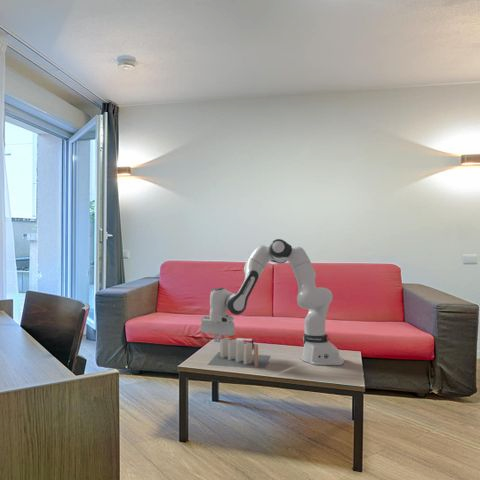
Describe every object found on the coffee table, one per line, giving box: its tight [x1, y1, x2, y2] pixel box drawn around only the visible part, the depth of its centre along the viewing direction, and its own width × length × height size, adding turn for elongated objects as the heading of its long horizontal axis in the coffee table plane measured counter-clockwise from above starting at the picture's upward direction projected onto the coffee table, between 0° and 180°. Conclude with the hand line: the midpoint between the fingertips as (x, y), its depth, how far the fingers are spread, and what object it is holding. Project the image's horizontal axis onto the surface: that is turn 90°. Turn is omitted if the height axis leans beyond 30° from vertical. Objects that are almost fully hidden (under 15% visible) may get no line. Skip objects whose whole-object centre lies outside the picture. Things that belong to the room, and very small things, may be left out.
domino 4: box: [244, 343, 253, 364], centre depth 198 cm, size 2×5×10 cm, turn 139°
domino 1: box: [220, 337, 230, 358], centre depth 209 cm, size 2×5×10 cm, turn 139°
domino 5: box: [253, 343, 259, 367], centre depth 195 cm, size 2×5×10 cm, turn 3°
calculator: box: [235, 337, 254, 346], centre depth 231 cm, size 11×4×15 cm
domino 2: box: [228, 338, 236, 360], centre depth 205 cm, size 2×5×10 cm, turn 140°
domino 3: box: [236, 341, 244, 362], centre depth 202 cm, size 2×5×10 cm, turn 139°
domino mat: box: [207, 352, 271, 370], centre depth 203 cm, size 30×23×1 cm
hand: (217, 341), depth 213 cm, fingers closed
